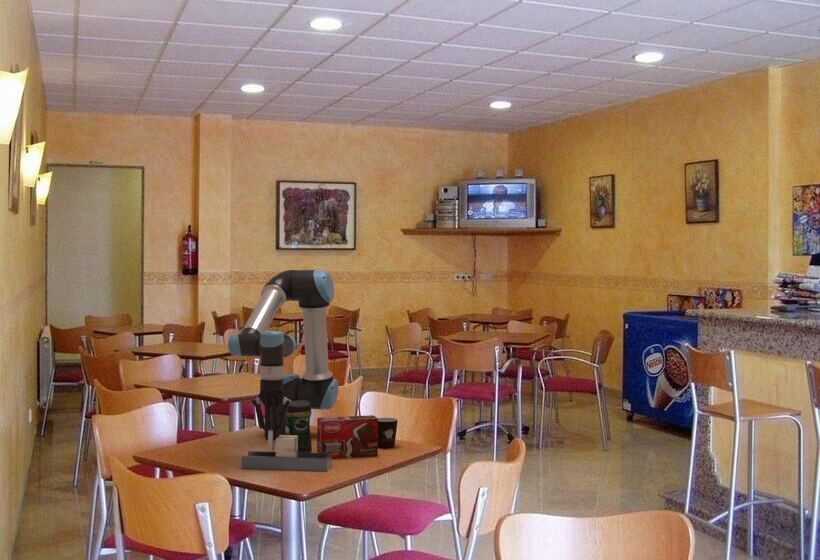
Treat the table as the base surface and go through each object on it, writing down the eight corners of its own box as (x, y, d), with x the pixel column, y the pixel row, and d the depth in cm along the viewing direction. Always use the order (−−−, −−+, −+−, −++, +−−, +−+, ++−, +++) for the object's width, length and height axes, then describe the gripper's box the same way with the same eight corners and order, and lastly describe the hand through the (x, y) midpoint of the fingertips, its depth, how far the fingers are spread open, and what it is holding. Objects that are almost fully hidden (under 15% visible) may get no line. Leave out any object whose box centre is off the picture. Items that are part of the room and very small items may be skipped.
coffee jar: (305, 450, 326) (306, 398, 326) (314, 454, 319) (314, 401, 319) (280, 452, 322) (280, 399, 321) (288, 456, 315) (288, 403, 314)
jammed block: (279, 459, 303) (279, 435, 302) (297, 459, 302) (297, 435, 302) (275, 463, 297) (275, 438, 296) (293, 463, 296) (293, 439, 296)
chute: (248, 462, 305) (248, 450, 305) (331, 465, 303) (331, 453, 302) (241, 468, 296) (241, 456, 296) (327, 471, 294) (327, 458, 294)
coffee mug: (398, 444, 337) (399, 417, 336) (396, 449, 328) (396, 421, 328) (367, 443, 338) (367, 417, 338) (364, 448, 329) (364, 421, 329)
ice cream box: (320, 459, 311) (320, 420, 311) (317, 455, 317) (317, 417, 317) (377, 456, 317) (377, 418, 316) (372, 452, 323) (373, 415, 323)
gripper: (249, 379, 296) (248, 451, 297) (288, 380, 295) (288, 453, 295) (255, 376, 303) (254, 447, 304) (293, 377, 302) (293, 448, 303)
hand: (271, 450), depth 300 cm, fingers closed
